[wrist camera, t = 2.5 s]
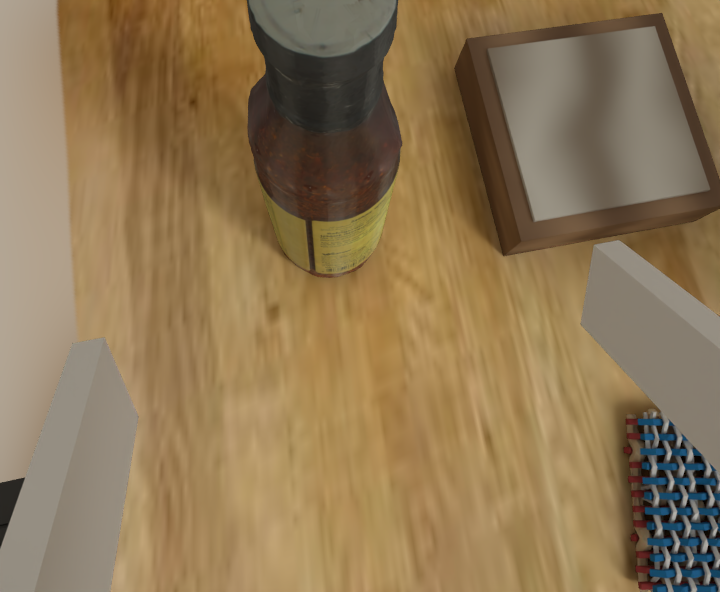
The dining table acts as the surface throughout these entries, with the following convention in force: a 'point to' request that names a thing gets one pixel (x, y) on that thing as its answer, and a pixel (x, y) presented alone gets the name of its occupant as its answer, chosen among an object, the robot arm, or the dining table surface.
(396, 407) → the dining table surface
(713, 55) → the dining table surface
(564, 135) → the walnut plinth
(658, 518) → the woven mat
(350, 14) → the sauce bottle
